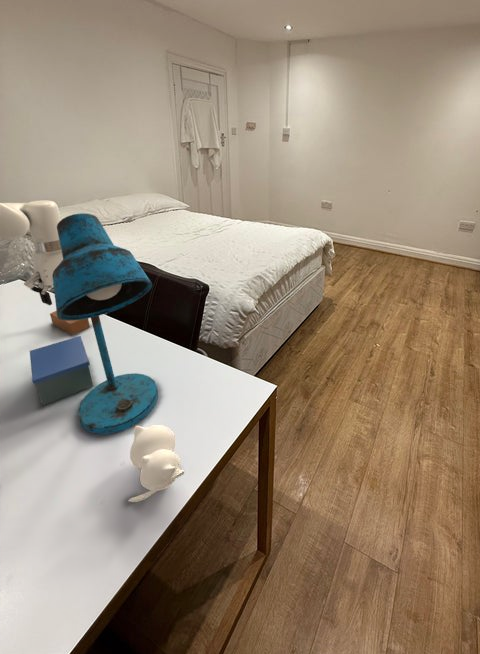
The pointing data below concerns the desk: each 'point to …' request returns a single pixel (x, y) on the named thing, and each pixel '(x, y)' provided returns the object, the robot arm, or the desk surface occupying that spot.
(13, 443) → the desk surface
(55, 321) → the block
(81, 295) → the desk lamp
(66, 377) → the container
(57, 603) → the desk surface
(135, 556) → the desk surface
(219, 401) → the desk surface
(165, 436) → the cat figurine
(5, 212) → the robot arm
